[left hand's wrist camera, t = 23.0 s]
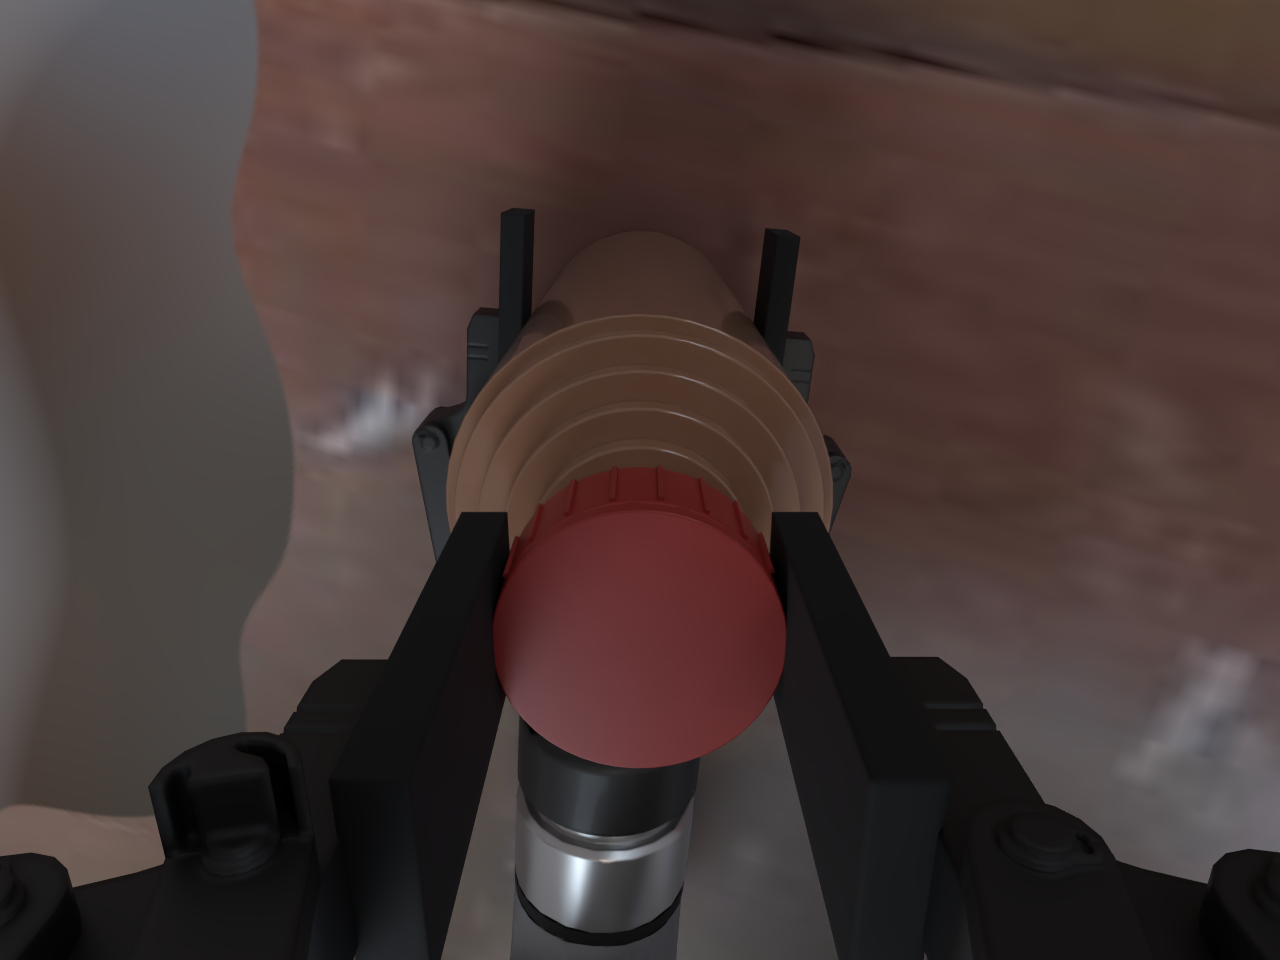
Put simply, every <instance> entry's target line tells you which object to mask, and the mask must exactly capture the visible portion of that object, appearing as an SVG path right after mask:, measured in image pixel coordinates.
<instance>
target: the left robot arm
mask: <svg viewBox="0 0 1280 960" xmlns="http://www.w3.org/2000/svg"><path fill="white" fill-rule="evenodd" d="M509 553H510V546H509V529H508V512H461V514H460V516H459V518H458V520H457V522H456V524H455V526H454V528H453V530H452V532H451V534H450V536H449V538H448V540H447V542H446V544H445V546H444V548H443V550H442V552H441V554H440V556H439V558H438V560H437V562H436V564H435V566H434V568H433V570H432V572H431V574H430V576H429V578H428V580H427V582H426V584H425V586H424V588H423V590H422V592H421V594H420V596H419V598H418V600H417V602H416V604H415V606H414V609H413V611H412V613H411V615H410V617H409V619H408V621H407V623H406V625H405V627H404V629H403V631H402V633H401V635H400V637H399V639H398V641H397V643H396V645H395V647H394V649H393V651H392V653H391V655H390V657H389V659H388V660H341V661H339V662H338V663H337V664H335V665H334V666H333V667H331V668H330V669H329V670H327V671H326V672H325V673H323V674H322V675H321V676H319V677H318V678H317V679H315V680H314V681H313V682H312V684H311V685H310V687H309V688H308V690H307V692H306V693H305V695H304V696H303V698H302V700H301V701H300V703H299V705H298V706H297V712H294V713H293V714H292V716H291V717H290V719H289V721H288V722H287V724H286V725H285V727H284V733H283V734H280V735H276V734H272V733H269V732H241V733H236V734H232V735H228V736H223V737H219V738H215V739H211V740H209V741H207V742H204V743H202V744H200V745H198V746H195V747H193V748H191V749H189V750H186V751H184V752H183V753H182V754H180V755H179V756H178V757H176V758H175V759H173V760H172V761H171V762H169V763H168V764H167V765H165V766H164V767H163V768H162V769H161V770H160V771H159V773H158V774H157V775H156V777H155V778H154V779H153V781H152V782H151V783H150V785H149V786H148V788H149V792H150V797H151V801H152V805H153V809H154V813H155V817H156V821H157V825H158V829H159V833H160V838H161V842H162V846H163V850H164V854H165V861H164V864H162V865H159V866H156V867H153V868H150V869H147V870H143V871H140V872H137V873H133V874H128V875H124V876H120V877H116V878H111V879H107V880H103V881H99V882H94V883H90V884H86V885H82V886H77V887H72V884H71V880H70V877H69V874H68V870H67V868H66V867H64V866H63V865H62V864H61V863H60V862H59V861H58V860H57V859H56V858H55V857H52V856H46V855H41V854H36V853H24V854H16V855H8V856H1V857H0V960H353V959H354V956H356V960H441V956H442V952H443V948H444V944H445V940H446V935H447V931H448V927H449V923H450V919H451V915H452V911H453V907H454V903H455V899H456V895H457V891H458V887H459V883H460V879H461V875H462V871H463V867H464V863H465V859H466V854H467V850H468V846H469V842H470V838H471V834H472V830H473V826H474V822H475V818H476V814H477V810H478V806H479V802H480V798H481V794H482V790H483V786H484V782H485V778H486V774H487V769H488V765H489V761H490V757H491V753H492V749H493V745H494V741H495V737H496V733H497V729H498V725H499V721H500V717H501V713H502V709H503V705H504V701H505V697H506V694H505V692H504V690H503V688H502V686H501V683H500V681H499V678H498V676H497V673H496V668H495V655H494V640H493V616H494V611H495V607H496V604H497V600H498V598H499V594H500V591H501V588H502V585H503V582H504V579H505V578H504V577H502V574H503V571H504V568H505V565H506V562H507V559H508V556H509ZM769 555H770V558H771V561H772V564H773V567H774V570H775V573H773V576H774V579H775V582H776V585H777V588H778V592H779V594H780V598H781V601H782V604H783V608H784V612H785V615H786V622H787V630H786V646H785V660H784V669H783V672H782V675H781V678H780V681H779V684H778V686H777V688H776V690H775V692H774V694H773V695H774V699H775V703H776V707H777V711H778V715H779V719H780V723H781V727H782V731H783V735H784V739H785V743H786V747H787V751H788V756H789V760H790V764H791V768H792V772H793V776H794V780H795V784H796V788H797V792H798V796H799V800H800V804H801V808H802V812H803V816H804V820H805V824H806V828H807V832H808V837H809V841H810V845H811V849H812V853H813V857H814V861H815V865H816V869H817V873H818V877H819V881H820V885H821V889H822V893H823V897H824V901H825V905H826V909H827V913H828V917H829V922H830V926H831V930H832V934H833V938H834V942H835V946H836V950H837V954H838V958H839V960H923V959H924V953H926V956H927V959H928V960H1280V853H1279V852H1271V851H1263V850H1254V849H1246V850H1240V851H1235V852H1230V853H1226V854H1225V855H1224V856H1223V857H1222V858H1220V859H1219V860H1218V861H1217V862H1216V863H1215V864H1214V865H1213V868H1212V871H1211V875H1210V878H1209V881H1208V884H1205V883H1201V882H1197V881H1192V880H1188V879H1184V878H1180V877H1175V876H1171V875H1167V874H1162V873H1158V872H1154V871H1150V870H1145V869H1142V868H1138V867H1135V866H1132V865H1129V864H1125V863H1122V862H1119V861H1117V860H1116V859H1115V857H1114V855H1113V854H1112V852H1111V851H1110V849H1109V848H1108V846H1107V845H1106V843H1105V841H1104V840H1103V838H1102V837H1101V836H1100V835H1099V834H1097V833H1096V832H1095V831H1094V830H1093V829H1091V828H1090V827H1089V826H1088V825H1087V824H1085V823H1084V822H1083V821H1082V820H1081V819H1079V818H1077V817H1075V816H1073V815H1071V814H1069V813H1067V812H1065V811H1063V810H1061V809H1059V808H1057V807H1055V806H1052V805H1048V804H1045V803H1044V801H1043V800H1042V798H1041V796H1040V795H1039V793H1038V792H1037V790H1036V788H1035V787H1034V785H1033V784H1032V782H1031V780H1030V779H1029V777H1028V776H1027V774H1026V772H1025V771H1024V769H1023V768H1022V766H1021V764H1020V763H1019V761H1018V760H1017V758H1016V756H1015V755H1014V753H1013V752H1012V750H1011V748H1010V747H1009V745H1008V744H1007V742H1006V740H1005V739H1004V737H1003V736H1002V734H1001V732H1000V731H997V730H996V724H995V723H994V721H993V720H992V718H991V716H990V715H989V713H988V711H987V710H986V709H983V703H982V702H981V700H980V699H979V697H978V695H977V694H976V692H975V691H974V689H973V687H972V686H971V684H970V683H969V681H968V679H967V678H965V677H964V676H963V675H961V674H960V673H959V672H957V671H956V670H955V669H953V668H952V667H951V666H949V665H948V664H947V663H945V662H944V661H943V660H941V659H940V658H939V657H890V656H889V654H888V652H887V650H886V648H885V646H884V644H883V642H882V640H881V638H880V636H879V634H878V632H877V630H876V628H875V626H874V624H873V622H872V620H871V618H870V616H869V614H868V612H867V610H866V608H865V606H864V604H863V602H862V600H861V598H860V596H859V594H858V592H857V590H856V588H855V586H854V584H853V582H852V580H851V578H850V576H849V574H848V572H847V570H846V568H845V566H844V563H843V561H842V559H841V557H840V555H839V553H838V551H837V549H836V547H835V545H834V543H833V541H832V539H831V537H830V535H829V533H828V531H827V529H826V527H825V525H824V523H823V521H822V519H821V517H820V515H819V513H818V512H772V519H771V536H770V554H769Z"/></svg>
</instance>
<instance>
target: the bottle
mask: <svg viewBox="0 0 1280 960" xmlns="http://www.w3.org/2000/svg"><path fill="white" fill-rule="evenodd" d="M657 465H659V466H662V469H665V470H670V471H674V472H679V473H682V474H685V475H687V476H690V477H693V478H696V479H699V478H700V477H701V478H703V479H704V480H705V483H706V484H708V485H710V486H712V487H713V488H715V489H716V490H718V491H720V492H721V493H722V494H724V495H725V496H727V497H728V498H729V499H730V500H731V501H732V502H734V501H735V500H736V501H737V502H738V503H739V504H740V508H741V511H742V512H743V513H744V514H745V515H746V517H747V518H748V519H749V520H750V521H751V523H752V525H753V526H754V528H755V529H756V531H757V533H760V532H762V534H763V536H764V539H765V542H766V546H767V549H768V552H769V554H770V536H771V519H772V512H818V513H819V515H820V517H821V519H822V521H823V523H824V525H825V527H826V529H827V531H828V533H829V529H830V523H831V516H832V509H833V479H832V471H831V464H830V458H829V454H828V451H827V448H826V444H825V441H824V437H823V434H822V432H821V430H820V428H819V425H818V423H817V421H816V419H815V417H814V414H813V412H812V411H811V409H810V408H809V406H808V405H807V403H806V401H805V400H804V398H803V397H802V395H801V394H800V392H799V390H798V389H797V388H796V386H795V385H794V383H793V382H792V380H791V379H790V377H789V376H788V374H787V373H786V371H785V370H784V368H783V367H782V365H781V364H780V362H779V361H778V359H777V358H776V356H775V355H774V353H773V352H772V350H771V349H770V347H769V346H768V344H767V343H766V341H765V340H764V339H763V337H762V336H761V334H760V333H759V331H758V330H757V328H756V327H755V325H754V324H753V322H752V321H751V319H750V318H749V316H748V315H747V313H746V312H745V310H744V309H743V307H742V306H741V304H740V303H739V301H738V300H737V298H736V297H735V295H734V294H733V293H732V291H731V290H730V288H729V287H728V285H727V284H726V282H725V281H724V279H723V278H722V276H721V275H720V273H719V272H718V270H717V269H716V268H715V267H714V265H713V264H712V263H711V262H710V261H709V260H708V259H707V258H706V257H705V256H704V255H703V254H702V253H701V252H700V251H698V250H697V249H695V248H694V247H692V246H691V245H689V244H688V243H686V242H684V241H682V240H680V239H678V238H675V237H672V236H669V235H666V234H663V233H658V232H653V231H627V232H622V233H617V234H613V235H610V236H607V237H605V238H602V239H600V240H598V241H596V242H594V243H592V244H590V245H588V246H587V247H586V248H584V249H583V250H581V251H580V252H579V253H578V254H577V255H576V256H574V257H573V258H572V259H571V260H570V261H569V262H568V264H567V265H566V266H565V267H564V269H563V270H562V271H561V272H560V274H559V275H558V277H557V278H556V280H555V281H554V283H553V284H552V286H551V287H550V289H549V290H548V292H547V293H546V295H545V296H544V298H543V299H542V300H541V302H540V303H539V305H538V306H537V308H536V309H535V311H534V312H533V314H532V315H531V317H530V318H529V320H528V321H527V323H526V324H525V326H524V327H523V329H522V330H521V331H520V333H519V334H518V336H517V337H516V339H515V340H514V342H513V343H512V345H511V346H510V348H509V349H508V351H507V352H506V354H505V355H504V357H503V358H502V360H501V361H500V362H499V364H498V365H497V367H496V368H495V370H494V371H493V373H492V374H491V376H490V377H489V379H488V380H487V382H486V383H485V385H484V386H483V388H482V389H481V391H480V392H479V393H478V395H477V397H476V398H475V400H474V402H473V403H472V405H471V407H470V408H469V410H468V411H467V413H466V415H465V416H464V419H463V421H462V424H461V426H460V428H459V431H458V433H457V435H456V438H455V441H454V444H453V448H452V452H451V456H450V459H449V464H448V473H447V482H446V507H447V515H448V521H449V527H450V533H451V532H452V530H453V528H454V526H455V524H456V522H457V520H458V518H459V516H460V514H461V512H508V529H509V546H510V550H511V547H512V544H513V541H514V538H515V536H518V537H520V535H521V533H522V531H523V529H524V527H525V526H526V525H527V523H528V522H529V520H530V519H531V518H532V516H533V515H534V514H535V511H536V508H537V505H538V504H539V503H541V504H542V505H543V504H544V503H545V502H546V501H548V500H549V499H550V498H552V497H553V496H554V495H555V494H557V493H558V492H559V491H561V490H562V489H564V488H566V487H568V486H569V485H570V482H571V480H573V479H576V481H579V480H581V479H583V478H586V477H588V476H591V475H594V474H598V473H601V472H605V471H608V470H612V467H613V466H618V469H621V468H629V467H632V468H633V467H648V468H657Z"/></svg>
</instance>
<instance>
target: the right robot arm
mask: <svg viewBox="0 0 1280 960" xmlns="http://www.w3.org/2000/svg"><path fill="white" fill-rule="evenodd" d="M534 214H535V210H531V209H519V208H512V209H509V210H507V211H504V212H502V213H501V239H500V290H499V309H495V308H482V307H480V308H479V309H478V310H477V311H476V312H475V313H474V314H473V316H472V319H471V321H470V323H469V326H468V328H467V397H466V401H465V402H463V403H461V404H458V405H454V406H451V407H438V408H435V409H434V410H433V411H431V412H430V414H429V415H428V416H427V417H426V419H425V420H424V421H423V422H422V423H421V425H420V426H419V427H418V428H417V430H416V431H415V433H414V435H413V437H412V444H413V449H414V454H415V459H416V464H417V469H418V474H419V479H420V484H421V489H422V494H423V499H424V504H425V509H426V515H427V520H428V525H429V530H430V535H431V540H432V545H433V550H434V555H435V560H436V562H437V560H438V558H439V556H440V554H441V552H442V550H443V548H444V546H445V544H446V542H447V540H448V538H449V536H450V534H451V533H450V527H449V521H448V515H447V507H446V482H447V473H448V464H449V459H450V456H451V452H452V448H453V444H454V441H455V438H456V435H457V433H458V431H459V428H460V426H461V424H462V421H463V419H464V416H465V415H466V413H467V411H468V410H469V408H470V407H471V405H472V403H473V402H474V400H475V398H476V397H477V395H478V393H479V392H480V391H481V389H482V388H483V386H484V385H485V383H486V382H487V380H488V379H489V377H490V376H491V374H492V373H493V371H494V370H495V368H496V367H497V365H498V364H499V362H500V361H501V360H502V358H503V357H504V355H505V354H506V352H507V351H508V349H509V348H510V346H511V345H512V343H513V342H514V340H515V339H516V337H517V336H518V334H519V333H520V331H521V330H522V329H523V327H524V326H525V324H526V323H527V321H528V320H529V318H530V317H531V305H532V274H533V244H534ZM799 243H800V236H798V235H796V234H794V233H792V232H790V231H788V230H780V229H768V228H765V236H764V244H763V252H762V260H761V268H760V276H759V284H758V292H757V300H756V308H755V316H754V325H755V327H756V328H757V330H758V331H759V333H760V334H761V336H762V337H763V339H764V340H765V341H766V343H767V344H768V346H769V347H770V349H771V350H772V352H773V353H774V355H775V356H776V358H777V359H778V361H779V362H780V364H781V365H782V367H783V368H784V370H785V371H786V373H787V374H788V376H789V377H790V379H791V380H792V382H793V383H794V385H795V386H796V388H797V389H798V390H799V392H800V394H801V395H802V397H803V398H804V400H805V401H806V403H808V397H809V390H810V382H811V377H812V370H813V363H814V357H815V355H814V351H813V346H812V342H811V340H810V339H809V338H808V337H807V336H806V334H805V333H803V332H790V331H787V330H788V323H789V316H790V308H791V301H792V294H793V287H794V279H795V272H796V265H797V258H798V250H799ZM823 437H824V441H825V444H826V448H827V451H828V454H829V458H830V464H831V471H832V479H833V509H832V516H831V523H830V529H829V534H830V531H831V528H832V525H833V523H834V520H835V517H836V514H837V512H838V509H839V506H840V503H841V501H842V498H843V495H844V492H845V490H846V487H847V484H848V481H849V479H850V476H851V466H850V463H849V462H848V460H847V459H846V457H845V456H844V454H843V453H842V451H841V450H840V448H839V447H838V446H837V444H836V443H835V441H834V440H833V439H832V438H831V437H828V436H826V435H823ZM699 761H700V757H698V758H695V759H693V760H690V761H687V762H682V763H678V764H674V765H670V766H662V767H655V768H626V767H615V766H610V765H605V764H600V763H596V762H593V761H590V760H586V759H583V758H580V757H578V756H576V755H574V754H571V753H569V752H567V751H564V750H563V749H561V748H559V747H558V746H556V745H554V744H553V743H551V742H549V741H548V740H547V739H545V738H544V737H543V736H541V735H540V734H539V733H537V732H536V731H535V730H534V729H533V728H532V727H531V726H530V725H529V724H528V723H527V722H526V721H525V720H524V719H523V718H522V717H521V716H520V719H519V748H518V779H519V786H518V791H517V800H516V843H515V884H516V885H515V899H514V914H513V928H512V943H511V954H510V960H676V952H677V940H678V928H679V916H680V904H681V895H682V891H683V884H684V878H685V874H686V869H687V861H688V852H689V844H690V836H691V827H692V819H693V809H694V796H693V795H694V792H695V790H696V784H697V777H698V769H699Z"/></svg>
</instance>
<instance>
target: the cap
mask: <svg viewBox="0 0 1280 960" xmlns="http://www.w3.org/2000/svg"><path fill="white" fill-rule="evenodd" d="M773 573H775V570H774V567H773V564H772V561H771V558H770V555H769V552H768V549H767V546H766V542H765V539H764V536H763V534H762V532H760V533H757V531H756V529H755V528H754V526H753V525H752V523H751V521H750V520H749V519H748V518H747V517H746V515H745V514H744V513H743V512H742V511H741V508H740V504H739V503H738V502H737V501H736V500H735V501H734V502H732V501H731V500H730V499H729V498H728V497H727V496H725V495H724V494H722V493H721V492H720V491H718V490H716V489H715V488H713V487H712V486H710V485H708V484H706V483H705V480H704V479H703V478H701V477H700V478H699V479H696V478H693V477H690V476H687V475H685V474H682V473H679V472H674V471H670V470H665V469H662V466H659V465H657V468H648V467H633V468H632V467H629V468H621V469H618V466H613V467H612V470H608V471H605V472H601V473H598V474H594V475H591V476H588V477H586V478H583V479H581V480H579V481H576V479H573V480H571V482H570V485H569V486H568V487H566V488H564V489H562V490H561V491H559V492H558V493H557V494H555V495H554V496H553V497H552V498H550V499H549V500H548V501H546V502H545V503H544V504H543V505H542V504H541V503H539V504H538V505H537V508H536V511H535V514H534V515H533V516H532V518H531V519H530V520H529V522H528V523H527V525H526V526H525V527H524V529H523V531H522V533H521V535H520V537H518V536H515V538H514V541H513V544H512V547H511V550H510V553H509V556H508V559H507V562H506V565H505V568H504V571H503V574H502V577H504V578H505V579H504V582H503V585H502V588H501V591H500V594H499V598H498V600H497V604H496V607H495V611H494V616H493V640H494V655H495V668H496V673H497V676H498V678H499V681H500V683H501V686H502V688H503V690H504V692H505V694H506V696H507V697H508V699H509V701H510V702H511V704H512V706H513V707H514V708H515V709H516V711H517V712H518V713H519V715H520V716H521V717H522V718H523V719H524V720H525V721H526V722H527V723H528V724H529V725H530V726H531V727H532V728H533V729H534V730H535V731H536V732H537V733H539V734H540V735H541V736H543V737H544V738H545V739H547V740H548V741H549V742H551V743H553V744H554V745H556V746H558V747H559V748H561V749H563V750H564V751H567V752H569V753H571V754H574V755H576V756H578V757H580V758H583V759H586V760H590V761H593V762H596V763H600V764H605V765H610V766H615V767H626V768H655V767H662V766H670V765H674V764H678V763H682V762H687V761H690V760H693V759H695V758H698V757H701V756H704V755H706V754H708V753H710V752H712V751H714V750H716V749H718V748H720V747H722V746H723V745H725V744H726V743H728V742H729V741H731V740H732V739H734V738H735V737H737V736H738V735H739V734H740V733H741V732H743V731H744V730H745V729H746V728H747V727H748V726H750V724H751V723H752V722H753V721H754V720H755V719H756V718H757V717H758V716H759V715H760V714H761V712H762V711H763V709H764V708H765V706H766V705H767V704H768V702H769V701H770V699H771V697H772V695H773V694H774V692H775V690H776V688H777V686H778V684H779V681H780V678H781V675H782V672H783V669H784V660H785V646H786V630H787V622H786V615H785V612H784V608H783V604H782V601H781V598H780V594H779V592H778V588H777V585H776V582H775V579H774V576H773Z"/></svg>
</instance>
